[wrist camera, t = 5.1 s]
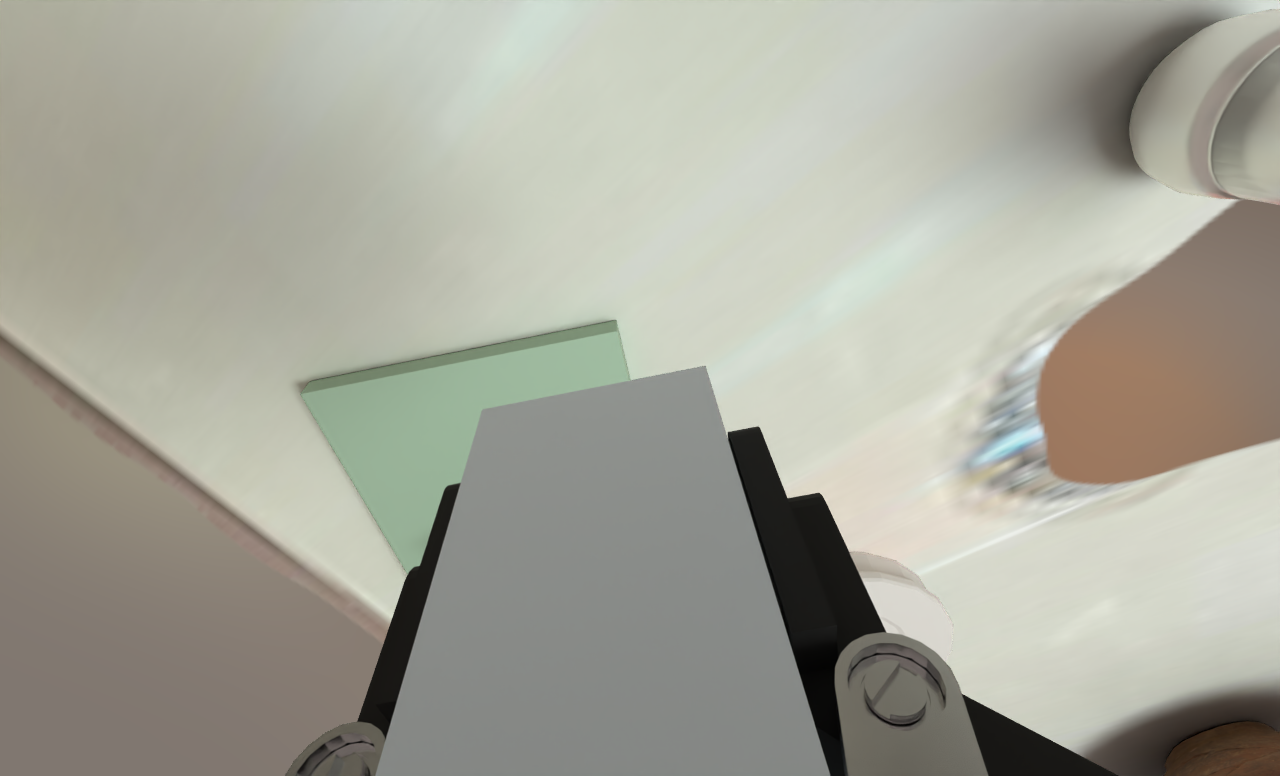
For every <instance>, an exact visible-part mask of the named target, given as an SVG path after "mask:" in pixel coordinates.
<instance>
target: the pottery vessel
mask: <svg viewBox="0 0 1280 776" xmlns="http://www.w3.org/2000/svg"><path fill="white" fill-rule="evenodd" d="M1165 768H1166V770H1167V771H1166V773H1165V774H1164V776H1280V732H1277V731H1275V730H1274V729H1273V728H1272V727H1270V726H1268V725H1266V724H1263V723H1260V722H1254V721H1247V722H1236V723H1232V724H1227V725H1223V726H1219V727H1216V728H1213V729H1211V730H1208V731H1204V732H1202V733H1199V734H1197V735H1195V736H1193V737H1191V738H1189V739H1187V740H1185V741H1183V742H1181V743H1180V744H1178V745H1177V746H1176V747H1175V748H1174V749H1173V750H1172V752H1171V753H1170V755H1169V756H1168V758H1167V760H1166V763H1165Z"/></svg>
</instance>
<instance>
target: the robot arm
mask: <svg viewBox="0 0 1280 776" xmlns="http://www.w3.org/2000/svg"><path fill="white" fill-rule="evenodd" d="M728 441H729V445H730V448H731V451H732V455H733V458H734V461H735V464H736V468H737V471H738V474H739V478H740V481H741V484H742V487H743V491H744V494H745V497H746V501H747V504H748V507H749V510H750V514H751V517H752V520H753V523H754V527H755V530H756V533H757V537H758V540H759V543H760V546H761V550H762V553H763V556H764V560H765V563H766V566H767V569H768V573H769V576H770V579H771V583H772V586H773V589H774V592H775V596H776V599H777V602H778V606H779V609H780V612H781V615H782V619H783V622H784V625H785V629H786V632H787V635H788V638H789V642H790V645H791V648H792V651H793V655H794V658H795V661H796V665H797V668H798V671H799V674H800V678H801V681H802V684H803V688H804V691H805V694H806V697H807V701H808V704H809V707H810V711H811V714H812V717H813V720H814V724H815V727H816V730H817V734H818V737H819V740H820V743H821V747H822V750H823V753H824V757H825V760H826V763H827V766H828V770H829V773H830V776H1118V775H1116V774H1114V773H1112V772H1110V771H1108V770H1107V769H1105V768H1103V767H1101V766H1099V765H1097V764H1095V763H1093V762H1091V761H1089V760H1087V759H1085V758H1084V757H1082V756H1080V755H1078V754H1076V753H1074V752H1072V751H1070V750H1068V749H1066V748H1064V747H1062V746H1061V745H1059V744H1057V743H1055V742H1053V741H1051V740H1049V739H1047V738H1045V737H1043V736H1041V735H1039V734H1038V733H1036V732H1034V731H1032V730H1030V729H1028V728H1026V727H1024V726H1022V725H1020V724H1018V723H1017V722H1015V721H1013V720H1011V719H1009V718H1007V717H1005V716H1003V715H1001V714H999V713H997V712H995V711H994V710H992V709H990V708H988V707H986V706H984V705H982V704H980V703H978V702H976V701H974V700H972V699H971V698H969V697H967V696H965V695H963V694H962V693H961V690H960V687H959V684H958V682H957V680H956V678H955V676H954V674H953V672H952V670H951V668H950V667H949V666H948V665H947V664H946V662H945V661H944V660H943V659H942V658H941V657H940V656H939V655H938V654H937V653H936V652H935V651H933V650H932V649H930V648H929V647H927V646H926V645H925V644H923V643H922V642H920V641H917V640H915V639H912V638H910V637H907V636H904V635H902V634H894V633H887V632H886V630H885V628H884V626H883V624H882V622H881V619H880V617H879V615H878V613H877V611H876V609H875V607H874V604H873V602H872V600H871V598H870V596H869V594H868V592H867V589H866V587H865V585H864V583H863V581H862V579H861V577H860V574H859V572H858V570H857V568H856V566H855V564H854V562H853V559H852V557H851V555H850V553H849V551H848V549H847V546H846V544H845V542H844V540H843V538H842V536H841V534H840V531H839V529H838V527H837V525H836V523H835V521H834V519H833V516H832V514H831V512H830V510H829V508H828V506H827V504H826V502H825V500H824V498H823V496H822V495H821V494H820V493H815V494H810V495H804V496H799V497H793V498H787V496H786V493H785V491H784V488H783V486H782V483H781V481H780V478H779V475H778V473H777V470H776V468H775V465H774V463H773V460H772V457H771V455H770V452H769V450H768V447H767V445H766V442H765V440H764V437H763V434H762V432H761V430H760V428H759V427H753V428H748V429H742V430H737V431H732V432H728ZM460 484H461V483H457V484H452V485H448V486H447V487H446V488H445V490H444V492H443V495H442V498H441V501H440V504H439V508H438V511H437V514H436V517H435V520H434V523H433V526H432V529H431V532H430V536H429V539H428V542H427V545H426V548H425V551H424V554H423V557H422V561H421V564H420V566H416V567H413V568H412V569H411V570H410V571H409V573H408V575H407V577H406V579H405V582H404V585H403V588H402V591H401V594H400V597H399V600H398V603H397V606H396V609H395V612H394V615H393V618H392V621H391V624H390V627H389V630H388V633H387V636H386V638H385V641H384V644H383V647H382V650H381V653H380V656H379V659H378V662H377V665H376V668H375V671H374V674H373V677H372V680H371V683H370V686H369V689H368V692H367V695H366V698H365V701H364V704H363V706H362V709H361V713H360V715H359V718H358V721H357V722H352V723H347V724H342V725H340V726H338V727H336V728H334V729H332V730H330V731H328V732H325V733H324V734H323V735H321V736H320V737H319V738H318V739H316V740H315V741H313V742H312V743H311V744H309V745H308V746H307V747H306V749H305V750H304V751H303V752H302V753H301V754H300V755H299V756H298V757H297V758H296V759H295V761H294V762H293V763H292V765H291V767H290V768H289V770H288V771H287V773H286V774H285V776H375V775H376V771H377V768H378V765H379V761H380V758H381V754H382V751H383V747H384V744H385V741H386V737H387V734H388V730H389V727H390V724H391V720H392V717H393V713H394V710H395V706H396V703H397V700H398V696H399V693H400V689H401V686H402V682H403V679H404V676H405V672H406V669H407V665H408V662H409V658H410V655H411V652H412V648H413V645H414V641H415V638H416V634H417V631H418V628H419V624H420V621H421V617H422V614H423V610H424V607H425V604H426V600H427V597H428V593H429V590H430V587H431V583H432V580H433V576H434V573H435V569H436V566H437V563H438V559H439V556H440V552H441V549H442V545H443V542H444V539H445V535H446V532H447V528H448V525H449V521H450V518H451V515H452V511H453V508H454V504H455V501H456V497H457V494H458V491H459V487H460Z"/></svg>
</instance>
